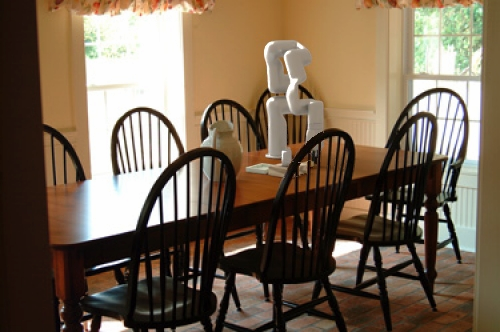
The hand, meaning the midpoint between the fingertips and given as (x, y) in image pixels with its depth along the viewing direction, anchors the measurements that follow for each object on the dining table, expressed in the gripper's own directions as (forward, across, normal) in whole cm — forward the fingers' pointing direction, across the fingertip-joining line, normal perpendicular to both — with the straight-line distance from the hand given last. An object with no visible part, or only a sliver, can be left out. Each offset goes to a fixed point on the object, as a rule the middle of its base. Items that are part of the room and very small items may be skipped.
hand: (315, 163), depth 361 cm
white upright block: (+1, +25, 0) cm, 25 cm away
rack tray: (+1, +24, -14) cm, 28 cm away
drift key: (+1, +9, 0) cm, 9 cm away
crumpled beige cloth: (+1, +23, 0) cm, 23 cm away
